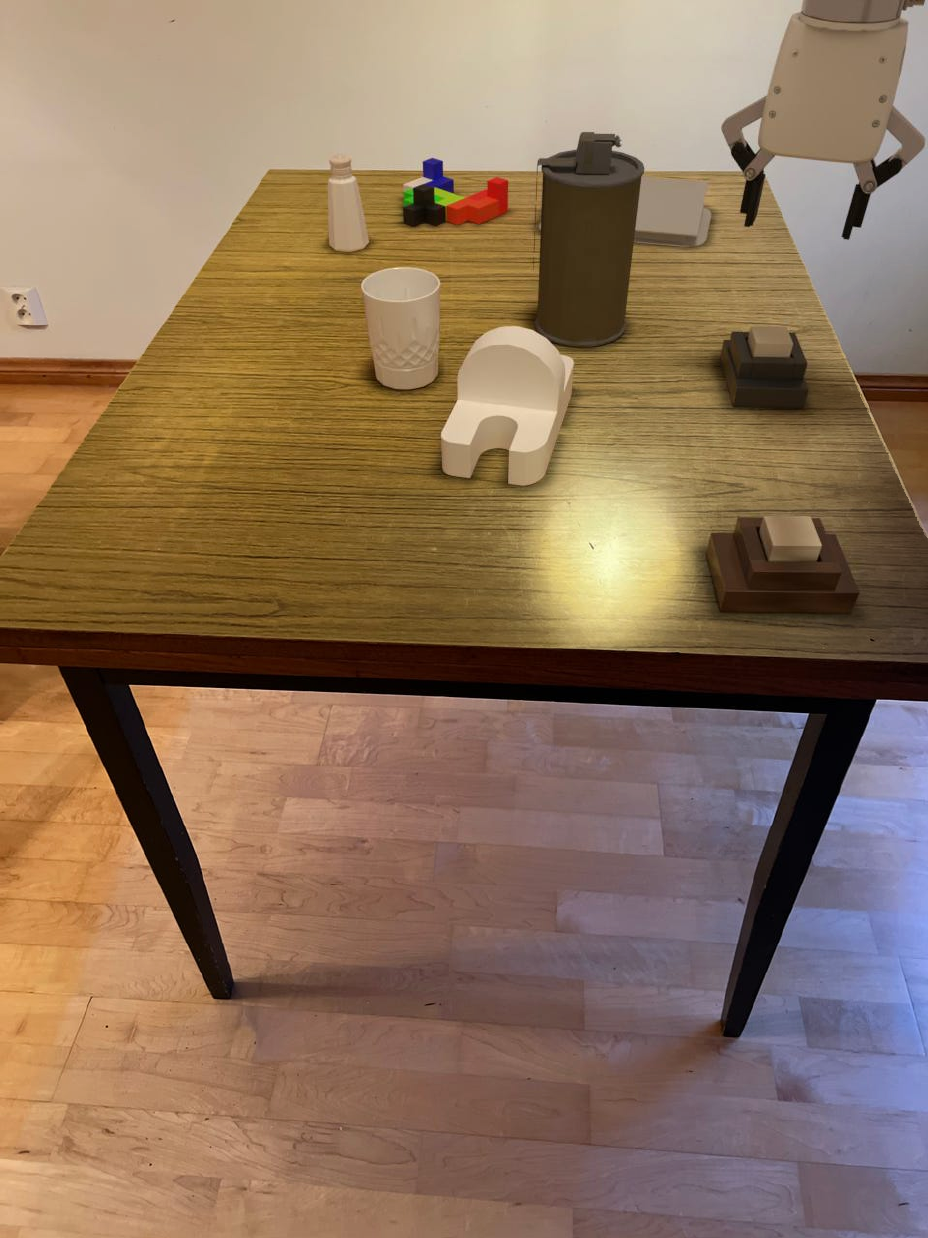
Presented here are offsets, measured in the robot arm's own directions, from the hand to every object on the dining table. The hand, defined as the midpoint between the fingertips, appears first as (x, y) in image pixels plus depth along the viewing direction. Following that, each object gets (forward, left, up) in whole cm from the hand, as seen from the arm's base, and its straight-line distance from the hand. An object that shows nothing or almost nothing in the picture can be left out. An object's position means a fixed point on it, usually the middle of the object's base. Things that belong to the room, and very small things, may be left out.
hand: (797, 226), depth 81 cm
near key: (-6, +31, -12) cm, 34 cm away
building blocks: (+51, -33, -16) cm, 62 cm away
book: (+25, -39, -16) cm, 48 cm away
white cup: (+36, +11, -16) cm, 41 cm away
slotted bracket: (+22, +17, -16) cm, 32 cm away
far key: (0, 0, -12) cm, 12 cm away
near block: (-6, +31, -16) cm, 35 cm away
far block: (0, 0, -16) cm, 16 cm away
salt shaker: (+58, -18, -16) cm, 62 cm away
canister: (+22, -6, -16) cm, 27 cm away
